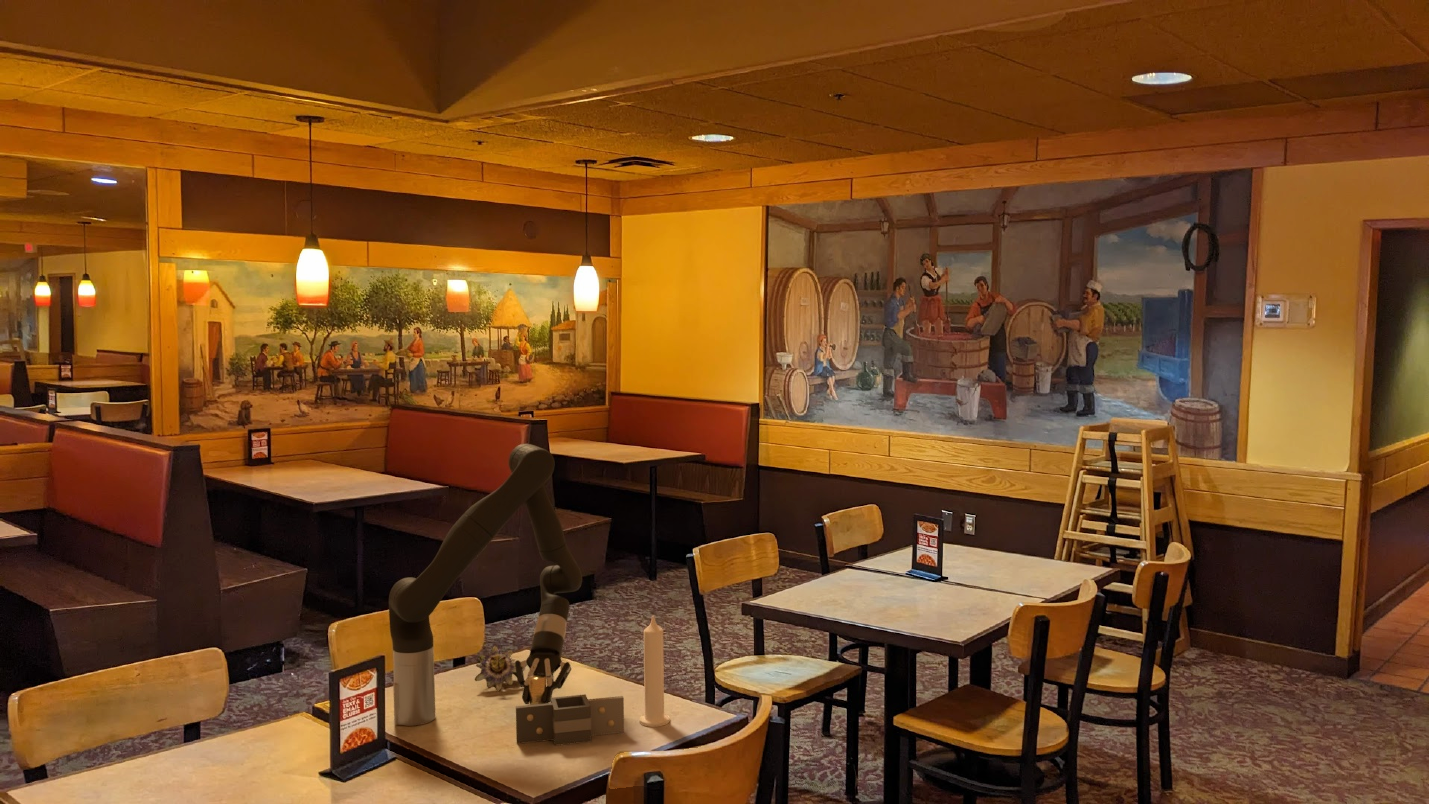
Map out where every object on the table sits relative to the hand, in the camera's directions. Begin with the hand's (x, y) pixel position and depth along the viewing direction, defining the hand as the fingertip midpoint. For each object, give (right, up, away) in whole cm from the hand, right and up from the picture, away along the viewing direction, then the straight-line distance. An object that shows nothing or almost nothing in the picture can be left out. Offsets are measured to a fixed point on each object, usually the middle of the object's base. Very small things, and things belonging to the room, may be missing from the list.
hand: (535, 703), depth 249 cm
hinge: (+9, -5, -9) cm, 14 cm away
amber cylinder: (0, -4, +2) cm, 5 cm away
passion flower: (-14, -3, +26) cm, 30 cm away
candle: (+28, -5, 0) cm, 28 cm away
